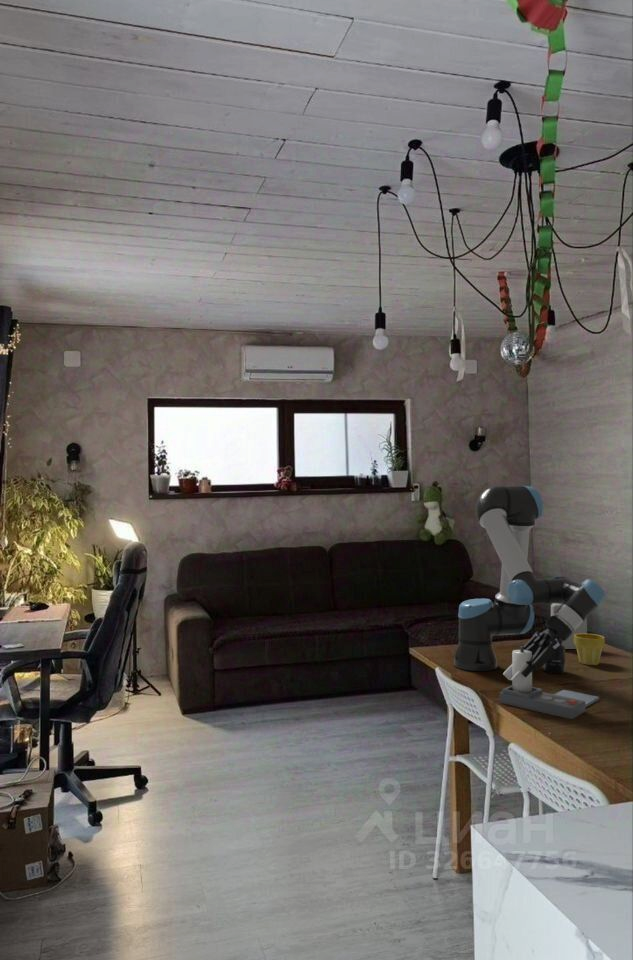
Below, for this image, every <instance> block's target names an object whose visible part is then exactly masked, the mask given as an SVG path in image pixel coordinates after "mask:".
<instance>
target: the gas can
mask: <svg viewBox="0 0 633 960" xmlns="http://www.w3.org/2000/svg"><path fill="white" fill-rule="evenodd" d="M562 604H563V603H551V604H550V617H551V616H555V615H554V613H555V612H556V610H557V609H558V608H559V607H560V606H561V605H562ZM581 633H586V634H588V617H587V618H586V619H585V620H584V621H583V622H582V623H581V624H580V627H577V629H576V630H575V631H572V634H571V635H570V636H569V637H568V639H567V640H566V641H562V645H563V646H564V647H565V649H576V650H575V651H577V648H576V645H575V644H574V635H575V634H581Z"/></svg>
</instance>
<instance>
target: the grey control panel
mask: <svg viewBox="0 0 633 960" xmlns="http://www.w3.org/2000/svg"><path fill="white" fill-rule="evenodd" d="M498 693H499V699H498V700H499V703H500V704H502V705H503V704H504V705H508V706H513V707H517V708H521V709H526V710H528V711H529V710H530V711H533V712H538V713H539V712H540V713H543V714H547V715H551V716H556V717H559V718H560V717H561V718H564V719H569V720H573V719H575V718H577V717H579V716H580V715H582V714H584V713H585V712H586V707H585V701H582V700H578V699H573V698H568V697H563V696H559V695H554V694H555V693H549V692H544V691H543V689H542V688H540V687H534V686H532V692H531V693H529V694H526V693H521V692H516V691H512V684H511V685H509V686H507V687H505V688H502V691H500V692H498Z"/></svg>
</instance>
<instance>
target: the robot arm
mask: <svg viewBox="0 0 633 960" xmlns="http://www.w3.org/2000/svg"><path fill="white" fill-rule="evenodd" d="M543 513H544V501H543V498H542V495H541V494H540V492H539V491H538V490H537V488H535V487H534V486H530V485H493V486H489V487H488V488H487V489H485V490H484V491H482V492H481V494H480V495H479V497H478V498H477V502H476V504H475V514H476V519H477V520H478V522H479V523H478V524H479V525H480V527H482V528H484V529H485V530H486V533H487V535H488V537H489V539H490V541H491V543H492V545H493V547H494V550H495V551H496V554H497V556H498V558H499V560H500V562H501V572H500V585H499V592H497V593H496V594H495V595H494V596H495V597H494V602H493V601H492V600H491V599H490V598H473V599H467V600H464V601H462V602H461V603H460V604H459V606H458V614H457V616H458V645H457V647H456V651H455V654H454V657H453V666H454V667H456V668H458V669H460V670H464V671H473V672H488V671H489V672H490V671H494V670H496V669H497V668H498V659H497V656H496V653H495V650H494V646H493V637H494V636H509V635H510V636H512V635H514V636H516V635H523V634H526V633H528V632H529V631H530V630H531V629H532V627H533V625H534V620H535V612H534V607H533V605H541V604H542V605H543V604H544V605H545V604H546V605H547V604H548V605H549V604H550V605H551V604H553V603H558V604H562V605H561V606H560V607H559V608H558V609H557V610H556V612H555V613H554V615H555V616H551V615H550V616H549V618H548V620H546V621H545V623H544V626H545V627H546V628H545V629H544V630H543V631H542V632H539V631H538V630H537V631H535V632H534V633H533V635H532V636H531V638H529V640H527V642H526V643H525V644H524V645H523V646H524V650H527V651H531V652H532V658H531V660H530V661H526V663H527V664H528V665H527V664H525V665H524V666H523V667H522V668H521V669H520V670H519V671H518V672H517V673H516V674H515V675H514V676H513V677H512V663H511V665H509V666H508V667H507V668H506V669H505V670H504V672H503V673H502V675H503V676H504V677H505V678H506V679H507V680H508V681H511V682H512V681H513V682H514V683H515V684H516V685H517V686H519V685H520V684H521V683H522V682H523V681H524V679H525V678H526V677H527V676H528V675H529V674H530V673H531V672H532V673H533V671H536V670H537V671H540V670H541V669H542V668H543V667H544V664H545V663H546V662H547V661H548V660H549V659H550V658H551V656H552V655H553V654H554V653H555V652H556V651H557V650H558V649H560V648H561V645H560V644H559V643H558V642H559V640H562V641H566V640H567V639H568V637H569V636H570V635H571V634H572V631H575V630H576V629H577V627H580V624H581V623H582V622H583V621H584V620H585V619H586V618H587V619H588V617H589V616H590V615H591V614H592V613H593V612H594V611H595V610H596V609H597V608H598V607H599V606H600V604H602V602H603V600H604V599H605V598H606V597H607V595H606V591H605V590H604V588H603V587H602V586H601V585H599V584H598V583H597V582H596V581H594V580H593V579H589V578H586V579H585V580H583V582H581V583H578V582H576V581H574V580H572V579H570V578H569V577H566V576H563V575H560V574H559V575H553V576H552V577H549V578H547V579H546V578H544V579H543V578H541V579H539V578H538V579H537V577H536V576H535V574H534V572H533V570H532V568H531V566H530V563H529V562H528V555H529V542H530V532H531V529H532V528H533V527H535V524H536V523H535V522H536V520H538V519H540V518H541V517H542V515H543Z"/></svg>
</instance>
